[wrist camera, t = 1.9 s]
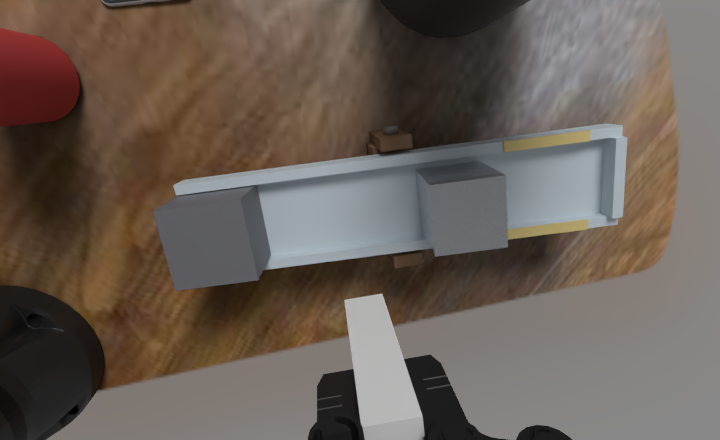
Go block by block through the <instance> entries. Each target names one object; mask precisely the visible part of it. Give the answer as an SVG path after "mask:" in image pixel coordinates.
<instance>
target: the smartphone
mask: <svg viewBox="0 0 720 440" xmlns="http://www.w3.org/2000/svg"><path fill="white" fill-rule="evenodd" d="M101 1H102V2H103V3H104V4H105V5H107V6H110V7H116V6H126V5H135V4H144V3H146V2H163V1H172V0H101Z"/></svg>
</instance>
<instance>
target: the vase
mask: <svg viewBox="0 0 720 440" xmlns="http://www.w3.org/2000/svg"><path fill="white" fill-rule="evenodd" d="M381 1H382V2H383V4H384V5H385V6H386V8H387V9H388V10H389V11H390V12H391V13H392V14H393V15H394V16H395V17H396V18H397V19H398V20H399V21H400V22H402V23H403V24H405V25H406V26H408V27H409V28H411V29H413V30H415V31H417V32H420V33H422V34H426V35H429V36H435V37H456V36H462V35H465V34H469V33H471V32H474V31H476V30H478V29H480V28H482V27H484V26H486V25H488V24H490V23H491V22H493V21H495V20H497V19H499V18H500V17H502V16H504V15H506V14H507V13H509V12H511V11H512V10H514V9H516V8H518V7H519V6H521V5H523V4H525V3H526V2H528V1H530V0H381Z"/></svg>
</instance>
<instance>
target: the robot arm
mask: <svg viewBox="0 0 720 440" xmlns="http://www.w3.org/2000/svg"><path fill="white" fill-rule="evenodd" d="M344 301H345V309H346V316H347V324H348V331H349V339H350V345H351V354H352V361H353V369H352V370H346V371H340V372H335V373H329V374H324V375H323V377H322V378H321V380H320V382H319V384H318V386H317V422H316V423H315V424H314V426H313V427H312V428H311V430H310V432H309V436H308V440H506V439H497V438H492V437H488V436H486V435H483V434H482V433H480V432H479V431H478V430H477V429H476V428H475V427H474V426H473V425H471V424H470V423H468V420H467V419H466V417H465V414H464V412H463V410H462V408H461V406H460V404H459V401H458V399H457V397H456V395H455V393H454V391H453V388H452V386H451V385H450V382H449V380H448V378H447V377H446V374H445V371H444V369H443V367H442V365H441V363H440V362H438V361H437V360H436V359H435V358H434V357H432V356H431V355H426V356H420V357H414V358H408V359H404V358H403V355H402V352H401V349H400V346H399V343H398V340H397V337H396V334H395V331H394V328H393V325H392V322H391V319H390V316H389V313H388V310H387V307H386V304H385V301H384V297H383V294H377V295H371V296H365V297H359V298H353V299H347V300H344ZM103 371H104V359H103V353H102V349H101V345H100V343H99V340H98V338H97V336H96V334H95V333H94V331H93V330H92V328H91V327H90V325H89V324H88V323H87V322H86V321H85V320H84V318H83V317H82V316H81V315H79V314H78V313H77V312H76V311H75V310H74V309H72V308H71V307H70V306H68V305H67V304H65V303H64V302H62V301H60V300H58V299H57V298H55V297H52V296H50V295H48V294H45V293H43V292H40V291H37V290H33V289H29V288H24V287H18V286H0V440H46V439H47V438H49V437H50V436H52V435H53V434H55V433H56V432H58V431H59V430H61V429H62V428H63V427H65V426H66V425H68V424H69V423H70V422H72V421H73V420H74V419H75V418H76V417H77V416H78V415H79V414H80V413H81V412H82V411H83V409H84V408H85V407H86V405H87V404H88V403H89V401H90V400H91V398H92V397H93V396H94V394H95V393H96V391H97V390H98V388H99V385H100V383H101V380H102V376H103ZM516 440H572V439H571V438H570V437H568V436H567V435H565V434H564V433H562V432H561V431H559V430H557V429H554V428H552V427H549V426H540V425H535V426H531V427H527V428H525V429H524V430H522V431H521V432H520V433H519V435H518V437H517V439H516Z"/></svg>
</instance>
